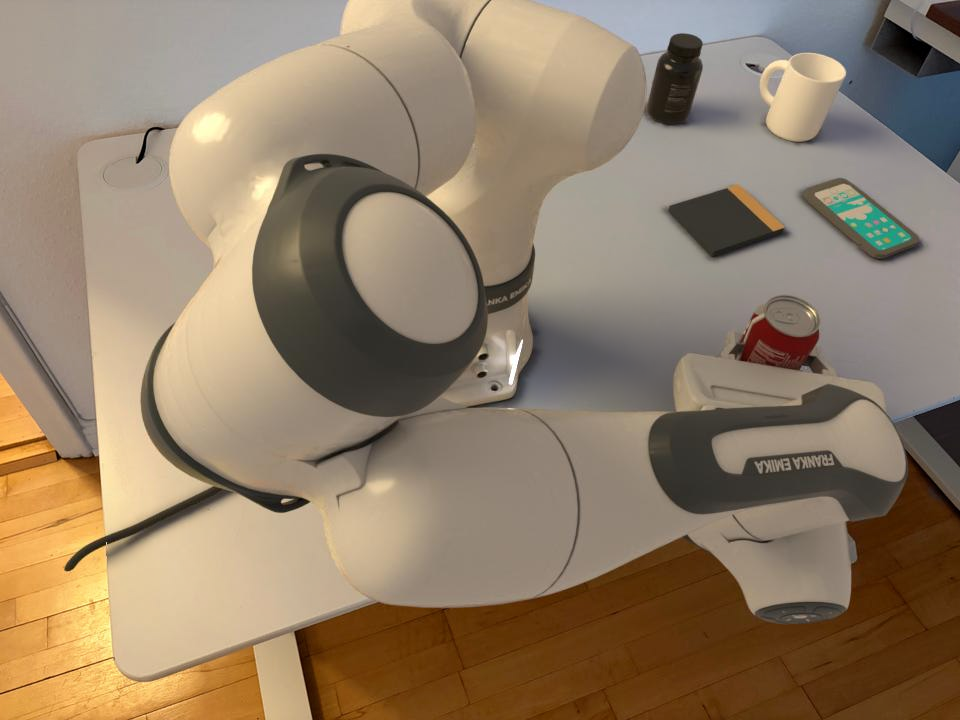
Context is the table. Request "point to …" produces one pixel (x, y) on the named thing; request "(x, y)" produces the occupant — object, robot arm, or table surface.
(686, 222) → the notebook
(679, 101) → the supplement bottle
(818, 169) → the table surface
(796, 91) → the mug
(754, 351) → the soda can
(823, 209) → the smartphone
